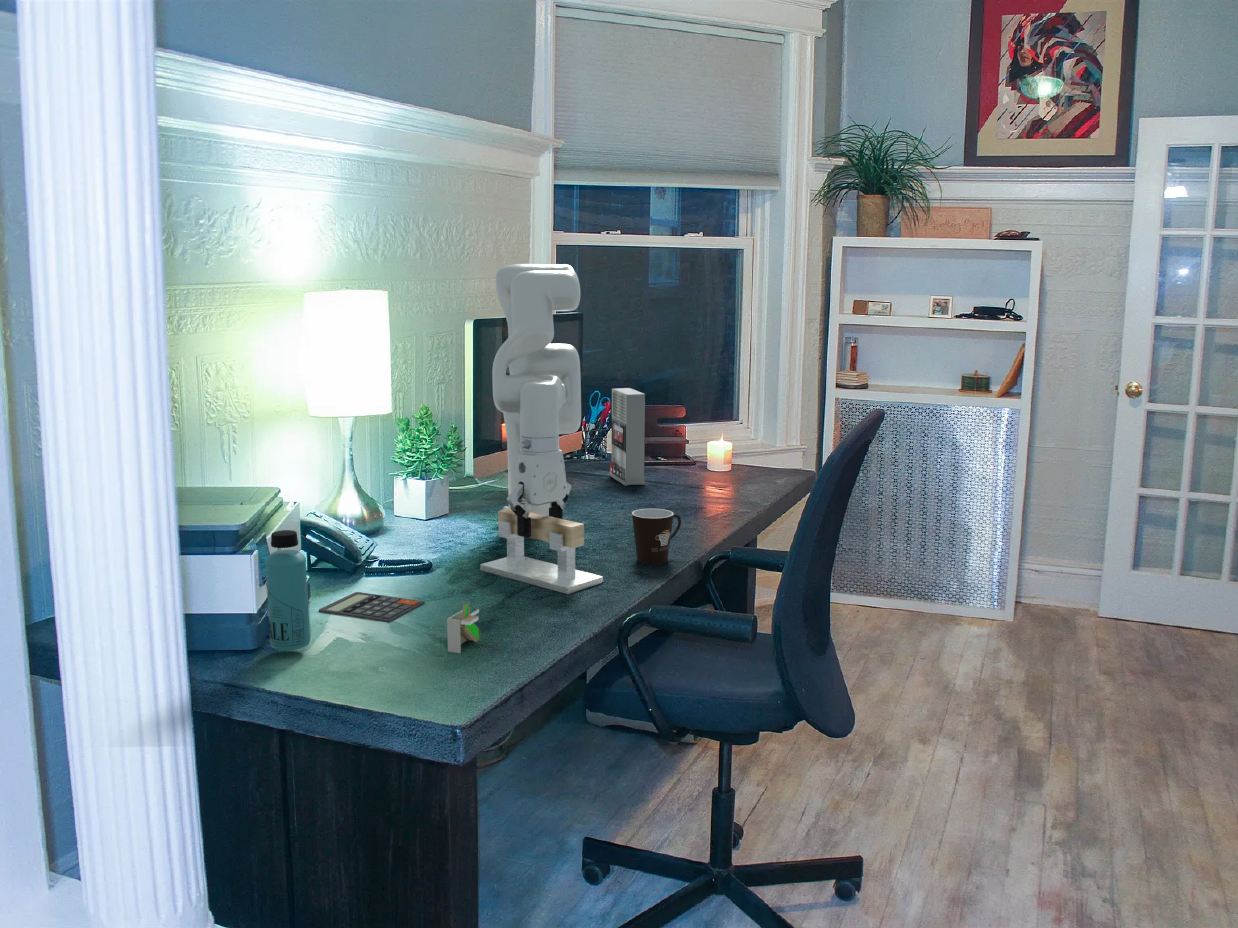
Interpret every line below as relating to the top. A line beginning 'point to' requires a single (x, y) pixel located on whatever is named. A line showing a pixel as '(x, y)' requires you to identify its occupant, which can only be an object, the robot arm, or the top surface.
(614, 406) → the cassette tape recorder
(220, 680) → the top surface
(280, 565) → the beverage bottle
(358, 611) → the calculator
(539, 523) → the rail
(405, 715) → the top surface
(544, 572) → the bracket stand
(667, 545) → the coffee mug
